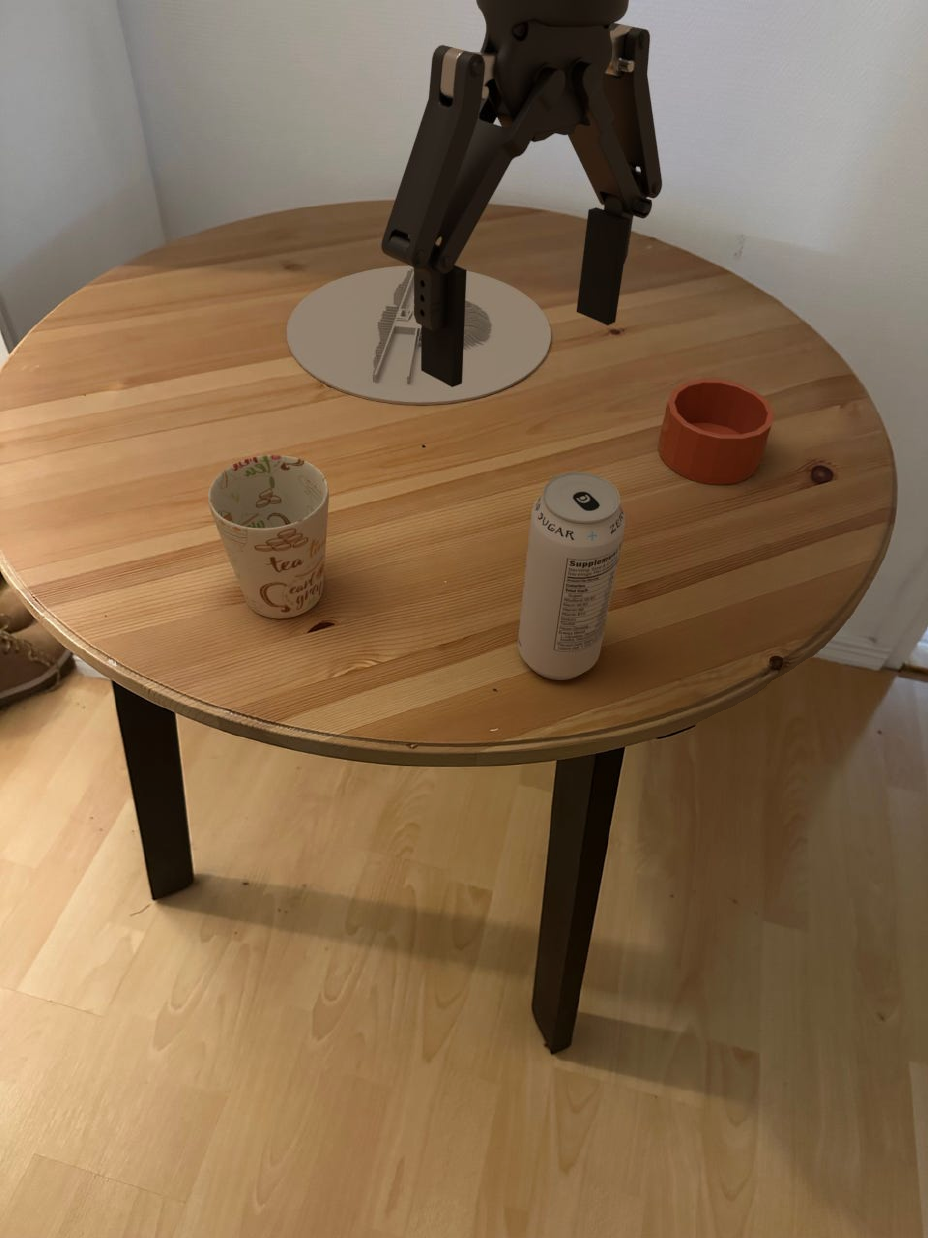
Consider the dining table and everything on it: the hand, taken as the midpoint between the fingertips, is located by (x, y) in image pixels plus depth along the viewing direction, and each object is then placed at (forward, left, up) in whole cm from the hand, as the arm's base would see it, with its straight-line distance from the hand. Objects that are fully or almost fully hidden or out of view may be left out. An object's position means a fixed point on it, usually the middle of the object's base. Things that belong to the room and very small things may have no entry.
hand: (523, 345), depth 59 cm
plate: (+33, -23, -22) cm, 46 cm away
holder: (-1, -27, -22) cm, 35 cm away
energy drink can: (-7, +2, -22) cm, 23 cm away
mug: (+14, +11, -22) cm, 28 cm away
